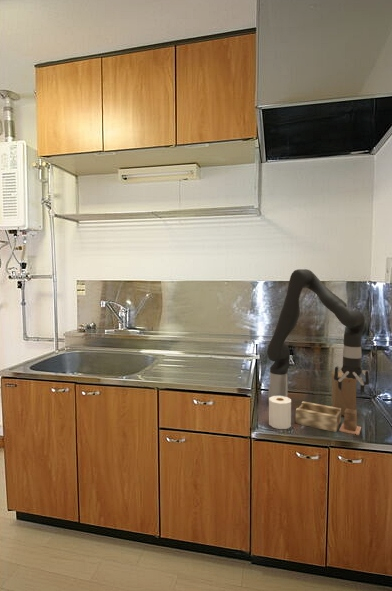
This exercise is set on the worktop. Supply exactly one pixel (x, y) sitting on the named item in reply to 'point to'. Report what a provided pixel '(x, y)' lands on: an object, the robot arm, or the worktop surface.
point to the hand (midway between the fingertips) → (351, 391)
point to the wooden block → (343, 393)
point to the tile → (349, 430)
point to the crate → (318, 416)
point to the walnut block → (350, 419)
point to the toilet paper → (280, 412)
